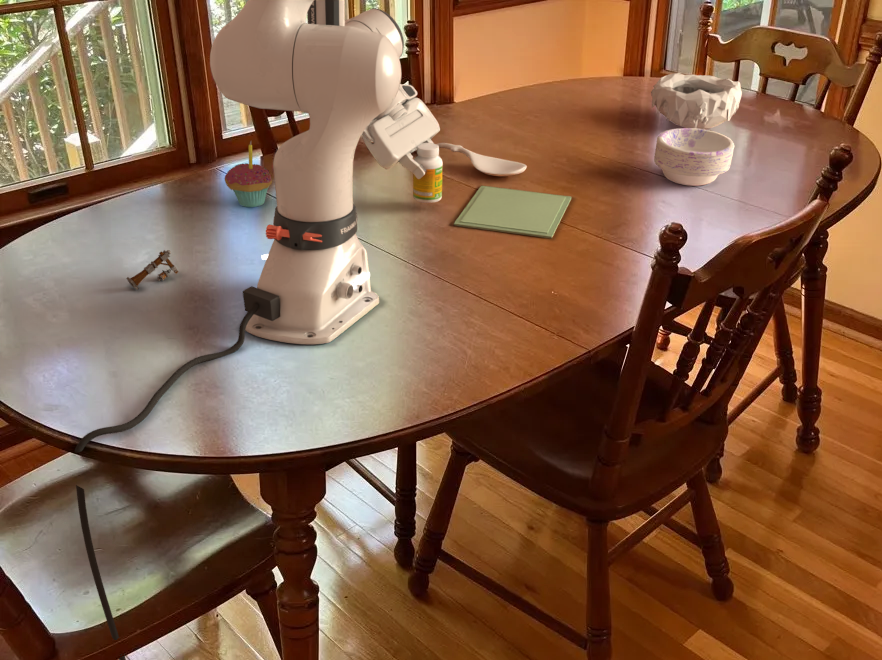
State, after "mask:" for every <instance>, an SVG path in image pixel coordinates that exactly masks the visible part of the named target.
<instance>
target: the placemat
mask: <svg viewBox="0 0 882 660" xmlns="http://www.w3.org/2000/svg"><path fill="white" fill-rule="evenodd" d="M571 200H572V196H570V195H562V194H561V195H560V194H553V193H545V192H538V191H537V192H536V191H530V190H522V189H513V188H507V187H506V188H505V187H498V186H491V185H480V187H479V188H478V190H476V192H475V194H473V196H472V198H470V200H469V202H467V204H466V206H465V207H464V209H463V210H462V212H461V213H460V214H459V216H458V217H457V218H456V219H455V221H454V223H453V226H455V227H461V228H462V227H463V228H470V229H476V230H477V229H478V230H484V231H485V230H486V231H493V232H499V233H508V234H515V235H523V236H529V237H536V238H542V239H543V238H545V239H553V237H554V235H555V232H556V231H557V228H558V227H559V224H560V223H561V220H562V218H563V217H564V214H565V212H566V210H567V209H568V206H569V205H570V202H571Z"/></svg>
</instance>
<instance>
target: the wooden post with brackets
mask: <svg viewBox="0 0 882 660" xmlns="http://www.w3.org/2000/svg"><path fill="white" fill-rule="evenodd" d="M171 254H172V252H171V250H169V249H167V250H163V251H160V252H159V253H158V256H157V258H155V259H154V260H151V261H150V263H148V264H147V265H146V266H145V267H143V269H142V270H141V271H140V272H138V273H137V274H135V275H134V276H131V277H129V276H127V277H125V280H127V282H128V283H129V285H130V286H131V287H132V288H133V289H135V290H136V291H138V290H139V287H138V286H139V285H140V284H141V283H142V282H143V281H144V280H145V278H146V277H147V276H148V275H151V274H152V273H153V272H155V271H156V269H158V268H159V266H160V265H163V266H168V267H169V269H166V270H163V269H162V272H160V273H158V274H157V278H156V279H157V281H158V282H160V281H165V279H166V278H169V277H170V275H169V274H171V272H173V273H174V274H176V275H177V274H178V273H179V270H178V269H177V267H176V266H175V265H174V264H173V263H172V261H171V259H169V258H170V257H171Z"/></svg>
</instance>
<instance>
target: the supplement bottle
mask: <svg viewBox="0 0 882 660" xmlns="http://www.w3.org/2000/svg"><path fill="white" fill-rule="evenodd" d="M433 143H434V142H433ZM433 143H421V144H420V145H419V146H417V151H416V154H417V156H415V157H414V158H413V160H414V161H416V162H417V163H418V164H419V165H421V164H422V165H423V166H424V168H425V169H426V170H427V173H426V174H425V175H424V176H423V177H421V178H420V179H417V178H416V176H415V175H414V174H413V173H412V198H413V199H414V201H416V202H419V203H422V204H423V203H424V204H433V203H437V202H439V201H441V200H442V198H443V167H444V166H443V165H444V164H443V159H442V158H441V156H440V148H439V146H438V145H437V144H438V143H434V144H433ZM438 155H439V156H440V157H438Z"/></svg>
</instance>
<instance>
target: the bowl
mask: <svg viewBox="0 0 882 660" xmlns="http://www.w3.org/2000/svg"><path fill="white" fill-rule="evenodd" d="M650 95H651V109H650V111H652V109H653V108H654V107H656V110H657V111H656V113H657V115H658V114H659V113H660V114H661V115H662V116H663V117H665V118H666V120H668V122H669V123H670V122H671V123H673V124H674V125H676V126H679V127H680V128H696V129H704V130H710V129H712V128H715V127H717V126H720V125H721V124H723V123H725V122H729V121H730V120H731V118H732V117H733V115H735V116H736V114H737V111H738V109H739V107H740V104H741V103H740V102H741V99H742V95H743V92H742V88H741V82H740V81H733V80H732V79H730V78H725V79H724V78H719V77H717V76H714V75H709V74H708V75H707V74H706V75H701V74H698V75H697V74H683V73H682V72H674V73H670V74H666V75H664V76H661V77H660V78H659V80H657V82H656V83H655V84H654V85H653V88H652V90H651V91H650Z"/></svg>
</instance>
